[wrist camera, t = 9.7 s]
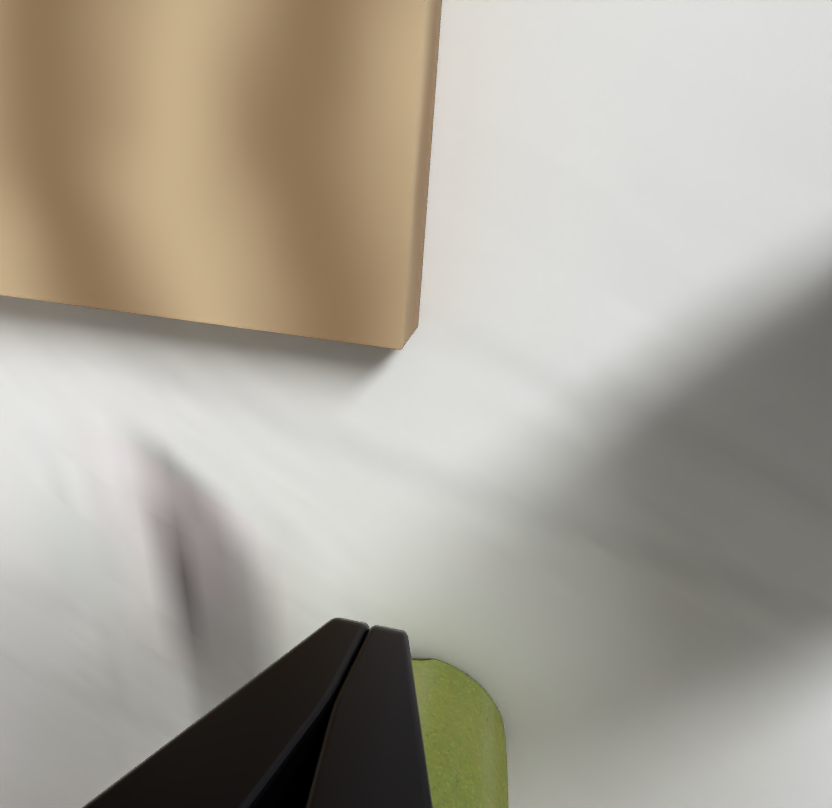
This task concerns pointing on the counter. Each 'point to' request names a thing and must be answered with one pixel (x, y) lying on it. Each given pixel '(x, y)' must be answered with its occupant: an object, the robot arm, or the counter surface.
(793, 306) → the counter surface
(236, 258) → the tan wooden slab
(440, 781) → the plant pot
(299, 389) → the counter surface
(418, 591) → the counter surface
